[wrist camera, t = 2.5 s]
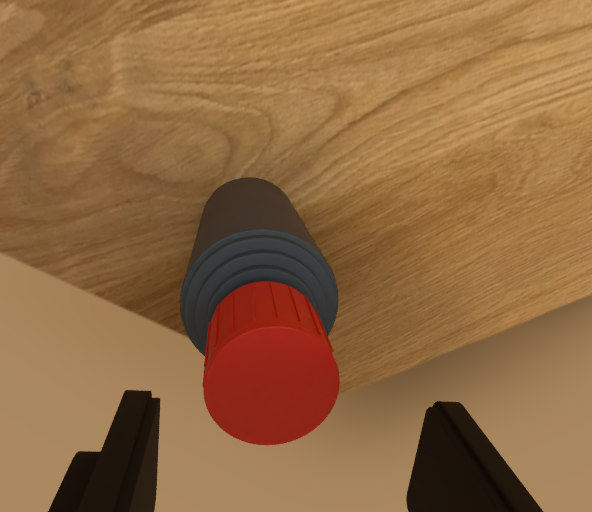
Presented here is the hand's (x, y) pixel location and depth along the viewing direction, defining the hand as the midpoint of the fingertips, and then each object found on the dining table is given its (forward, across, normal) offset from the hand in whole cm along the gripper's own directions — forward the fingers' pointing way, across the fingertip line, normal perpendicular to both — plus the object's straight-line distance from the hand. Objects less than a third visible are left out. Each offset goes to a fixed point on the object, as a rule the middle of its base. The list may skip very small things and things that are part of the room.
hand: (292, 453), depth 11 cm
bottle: (+23, 0, 0) cm, 23 cm away
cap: (+6, 0, 0) cm, 6 cm away
